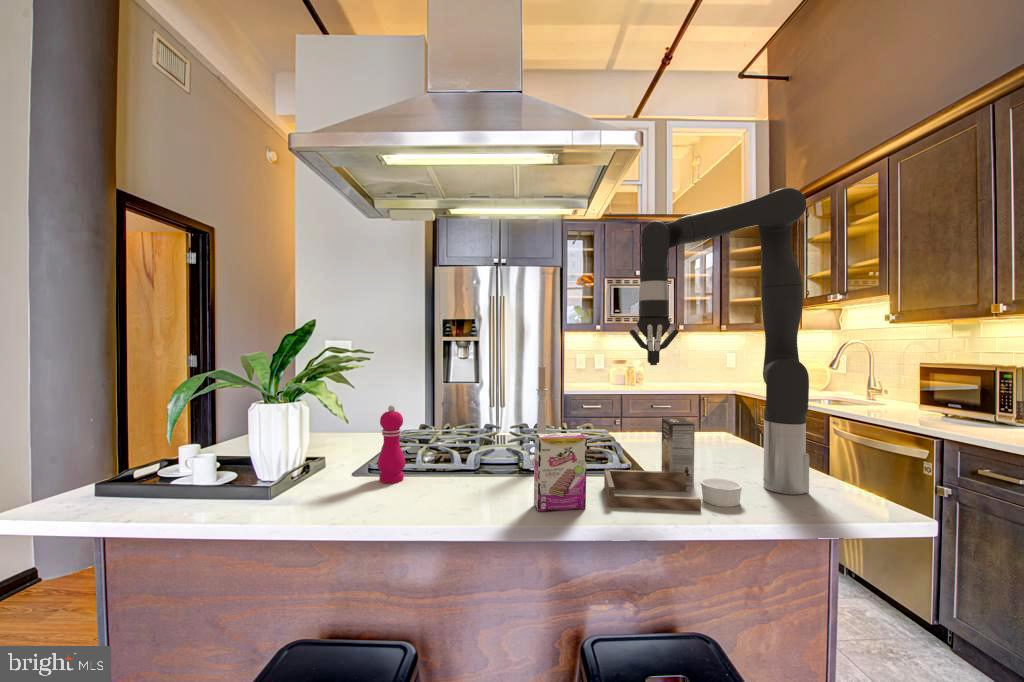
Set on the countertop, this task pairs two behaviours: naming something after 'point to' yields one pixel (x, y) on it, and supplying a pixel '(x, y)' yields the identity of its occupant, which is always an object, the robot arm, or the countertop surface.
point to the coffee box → (678, 447)
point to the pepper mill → (391, 448)
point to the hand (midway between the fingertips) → (653, 365)
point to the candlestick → (541, 407)
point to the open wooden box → (648, 482)
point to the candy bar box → (560, 471)
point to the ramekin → (721, 492)
